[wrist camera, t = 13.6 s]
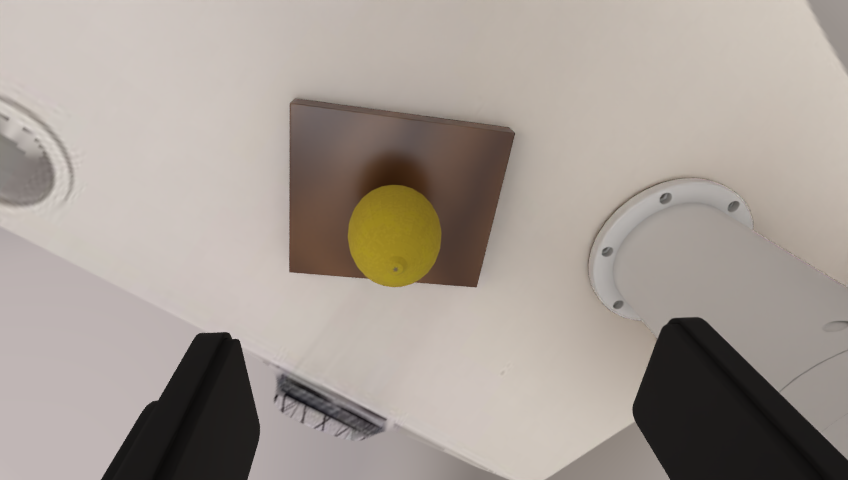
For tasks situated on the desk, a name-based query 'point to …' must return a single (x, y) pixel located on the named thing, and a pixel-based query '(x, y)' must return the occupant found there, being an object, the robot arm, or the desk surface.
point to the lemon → (394, 235)
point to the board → (391, 182)
